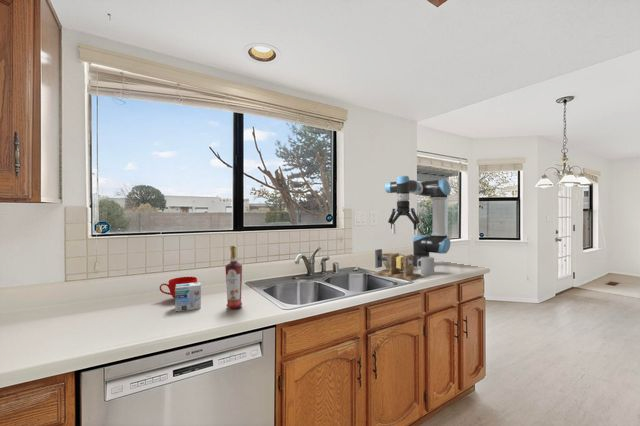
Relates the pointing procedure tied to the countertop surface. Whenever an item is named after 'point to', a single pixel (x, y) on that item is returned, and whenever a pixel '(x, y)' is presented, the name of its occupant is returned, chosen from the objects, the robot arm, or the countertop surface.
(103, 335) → the countertop surface
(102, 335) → the countertop surface
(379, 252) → the shaft
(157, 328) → the countertop surface
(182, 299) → the light bulb box
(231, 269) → the liquor
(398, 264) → the collar
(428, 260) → the mug
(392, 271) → the bearing block
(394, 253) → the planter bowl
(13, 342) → the countertop surface
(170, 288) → the ceramic cup
